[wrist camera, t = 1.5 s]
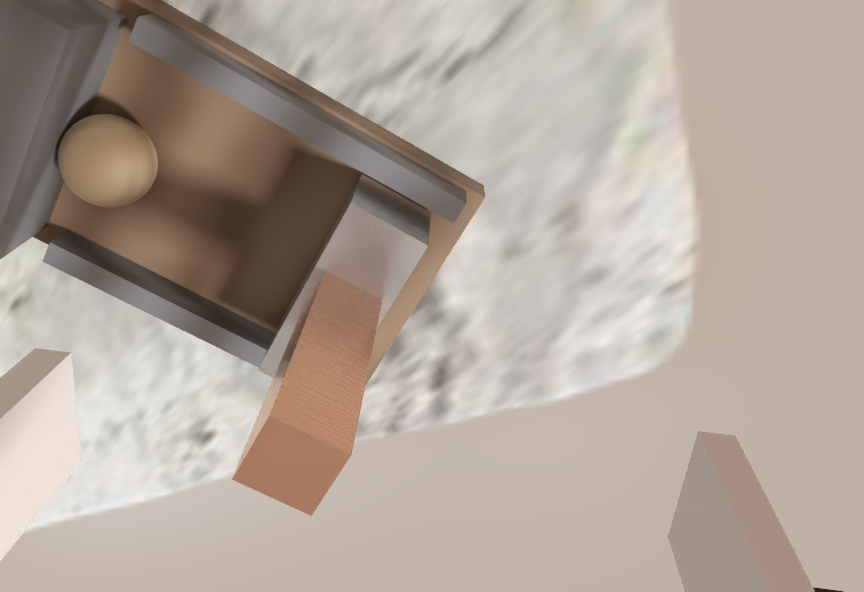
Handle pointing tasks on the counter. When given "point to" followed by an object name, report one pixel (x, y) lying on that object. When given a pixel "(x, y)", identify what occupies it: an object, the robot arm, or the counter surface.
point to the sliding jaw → (331, 347)
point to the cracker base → (191, 168)
